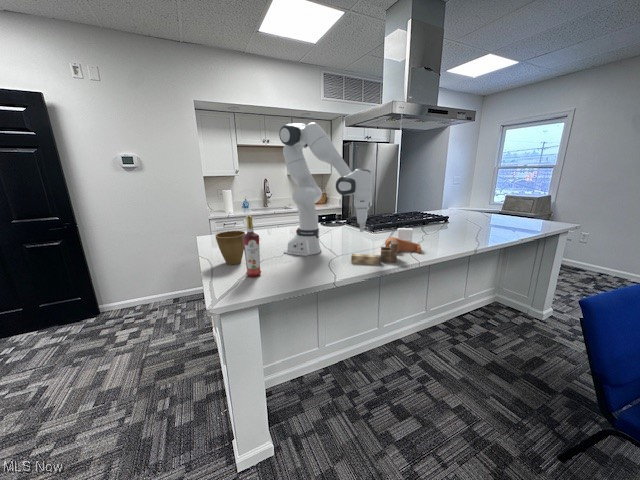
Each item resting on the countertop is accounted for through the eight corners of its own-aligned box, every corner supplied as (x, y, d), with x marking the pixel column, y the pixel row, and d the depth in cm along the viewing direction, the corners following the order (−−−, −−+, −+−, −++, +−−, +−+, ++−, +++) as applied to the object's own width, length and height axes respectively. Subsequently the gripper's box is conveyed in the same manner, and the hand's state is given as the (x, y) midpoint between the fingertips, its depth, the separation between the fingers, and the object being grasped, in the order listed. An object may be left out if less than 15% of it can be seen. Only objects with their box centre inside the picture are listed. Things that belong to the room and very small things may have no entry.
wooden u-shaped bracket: (380, 261, 139) (381, 243, 136) (380, 256, 146) (381, 239, 144) (396, 262, 137) (397, 244, 135) (395, 257, 145) (396, 240, 142)
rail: (351, 262, 138) (351, 255, 137) (352, 260, 141) (352, 253, 140) (380, 264, 134) (380, 257, 133) (380, 262, 138) (380, 255, 137)
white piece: (397, 249, 160) (398, 230, 157) (395, 245, 168) (396, 227, 165) (412, 250, 158) (414, 230, 155) (410, 245, 167) (411, 227, 164)
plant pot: (239, 256, 151) (236, 229, 147) (253, 262, 140) (250, 233, 136) (213, 262, 141) (210, 233, 137) (226, 269, 130) (223, 238, 126)
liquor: (247, 279, 119) (241, 218, 111) (244, 273, 125) (239, 215, 118) (263, 276, 121) (258, 216, 114) (260, 271, 128) (255, 214, 121)
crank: (385, 253, 154) (386, 240, 152) (384, 249, 161) (385, 236, 159) (421, 254, 150) (422, 241, 148) (418, 250, 158) (420, 237, 155)
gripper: (358, 200, 141) (358, 225, 144) (354, 204, 121) (354, 233, 125) (370, 199, 139) (369, 225, 143) (368, 204, 120) (367, 234, 124)
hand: (362, 229), depth 134 cm, fingers open, 8 cm apart
